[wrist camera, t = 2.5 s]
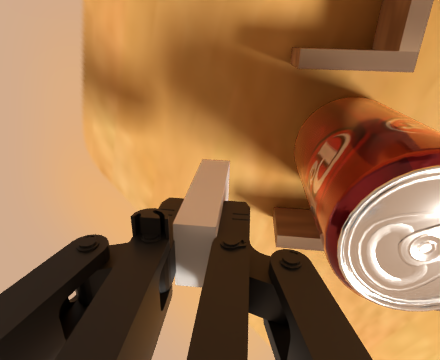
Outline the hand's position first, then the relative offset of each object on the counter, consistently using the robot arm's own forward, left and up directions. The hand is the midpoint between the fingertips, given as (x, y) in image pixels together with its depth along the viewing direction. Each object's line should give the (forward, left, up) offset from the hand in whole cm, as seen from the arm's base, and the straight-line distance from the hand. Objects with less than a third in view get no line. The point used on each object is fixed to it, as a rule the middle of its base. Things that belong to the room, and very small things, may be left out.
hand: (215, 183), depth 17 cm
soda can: (0, +9, -7) cm, 11 cm away
